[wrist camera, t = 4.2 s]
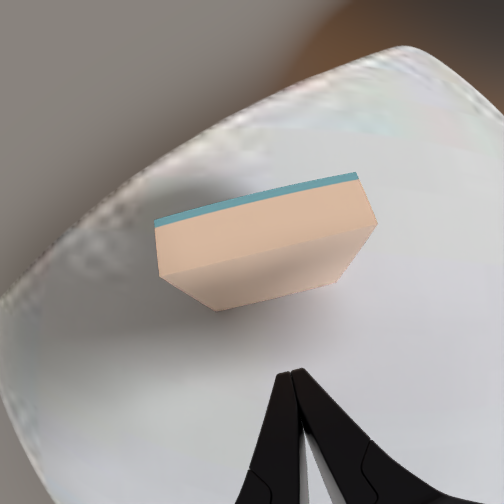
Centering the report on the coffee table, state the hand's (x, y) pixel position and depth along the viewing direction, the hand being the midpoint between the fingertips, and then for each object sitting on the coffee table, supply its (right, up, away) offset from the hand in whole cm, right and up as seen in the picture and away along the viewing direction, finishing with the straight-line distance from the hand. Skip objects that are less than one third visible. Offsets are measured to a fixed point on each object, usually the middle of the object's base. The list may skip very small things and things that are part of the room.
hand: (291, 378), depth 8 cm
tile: (0, +2, +8) cm, 9 cm away
